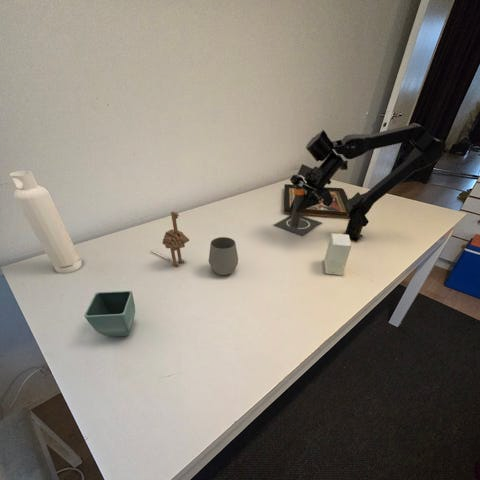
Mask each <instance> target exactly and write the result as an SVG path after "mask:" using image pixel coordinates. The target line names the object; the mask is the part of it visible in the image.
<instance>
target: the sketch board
mask: <svg viewBox="0 0 480 480" xmlns="http://www.w3.org/2000/svg"><path fill="white" fill-rule="evenodd" d="M291 218H292V214H291V215H289V216H287V217H286V218H284V219H282V220H280V221H278V222H277V223H275V224H273V225H274V226H275V227H277V228H280V229H282V230H285V231H289V232H290V233H293V234H296V235H299V236H301V237H302V236H305V235H306V234H308V232H311V231H312V230H313V229H315V228H317V227H318V226H320V225H322V222H321V221H318V220H315V219H312V218H309V217H306V216H303V215H300V220H299V226H298V228H297V229H292V228H290V224H291Z"/></svg>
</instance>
